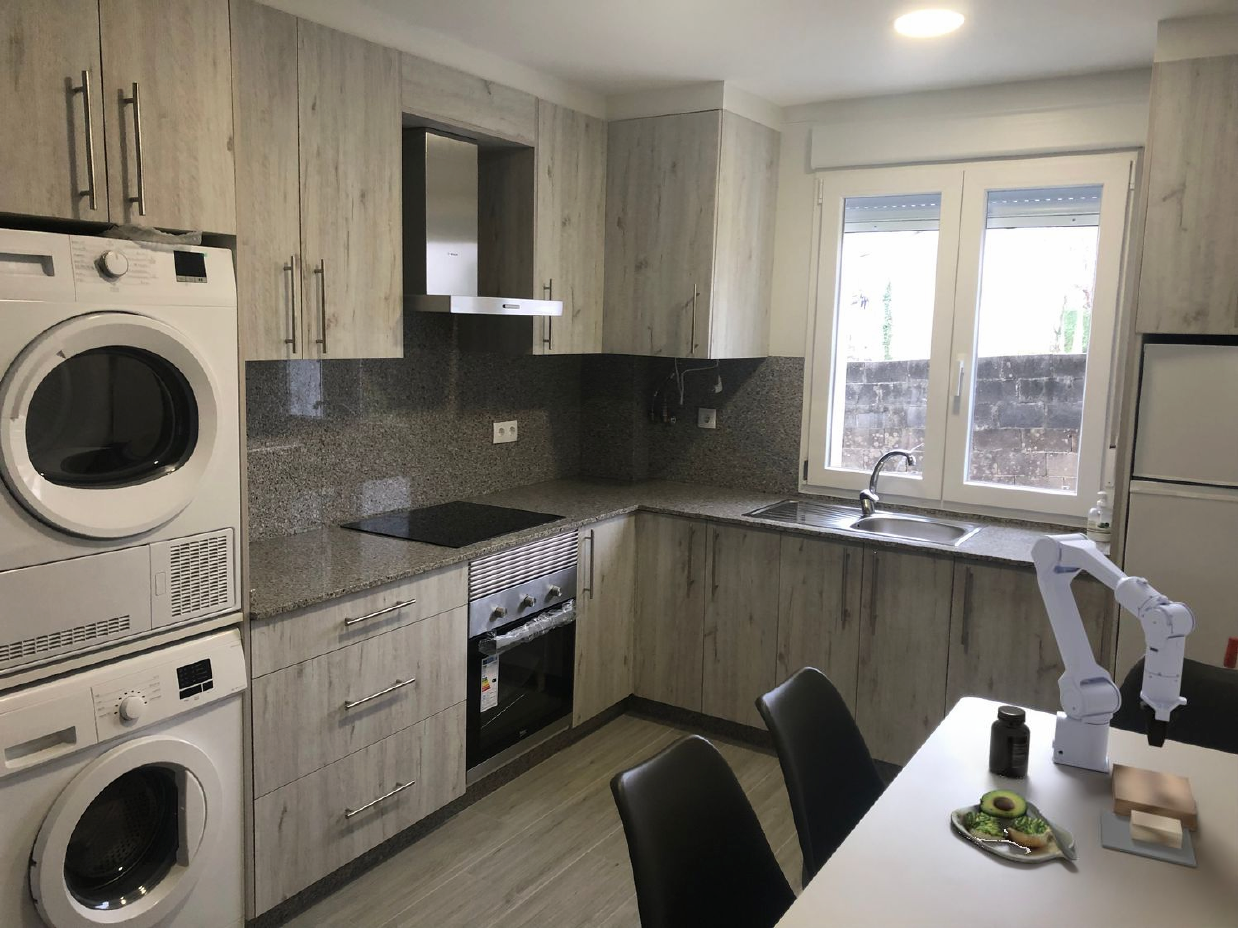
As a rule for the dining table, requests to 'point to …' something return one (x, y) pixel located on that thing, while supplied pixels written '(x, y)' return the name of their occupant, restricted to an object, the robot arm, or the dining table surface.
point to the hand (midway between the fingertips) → (1155, 745)
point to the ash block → (1156, 829)
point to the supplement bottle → (1009, 743)
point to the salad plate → (1014, 827)
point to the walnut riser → (1153, 794)
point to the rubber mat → (1119, 838)
